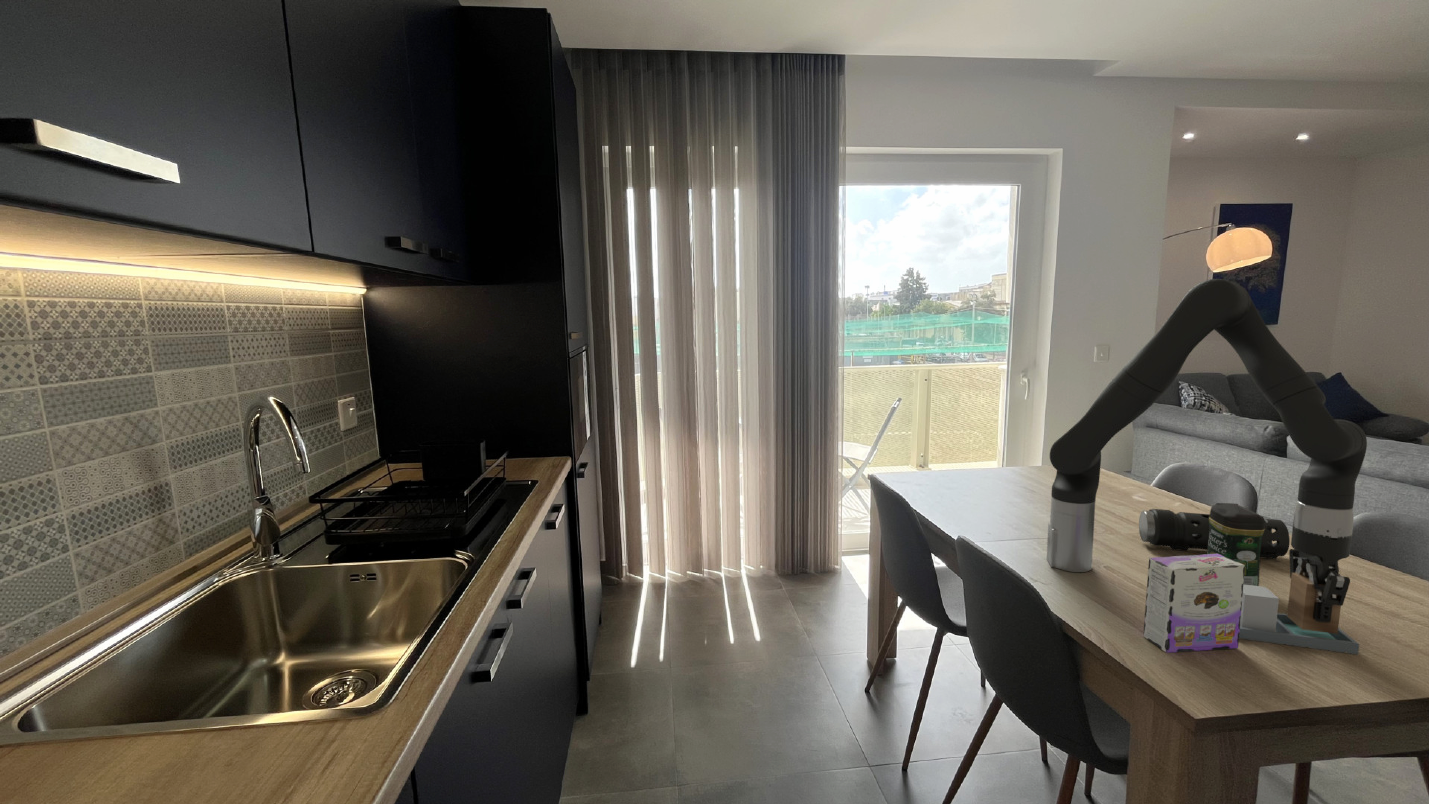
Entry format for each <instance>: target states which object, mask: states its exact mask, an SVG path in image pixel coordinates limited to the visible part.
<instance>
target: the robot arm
mask: <svg viewBox="0 0 1429 804" xmlns="http://www.w3.org/2000/svg"><path fill="white" fill-rule="evenodd" d="M1213 331H1215V332H1216V333H1217V334H1219V335H1220V336H1221V337H1222V338H1223V339H1224V340H1225V341H1227V343H1228V344H1229V345H1230V346H1231V347H1232V348H1233V349H1234V351H1235V353H1236V354H1237V356H1238V357H1239V358H1240V360H1241V362H1242V363H1243V365H1244V367H1245V369H1246V371H1247V373H1248V374H1249V376H1250V378H1251V380H1252V381H1253V383H1254V384H1255V386H1256V388H1257V389H1258V390H1259V391H1260V392H1261V394H1262V395H1263V396H1264V397H1265V398H1266V400H1267V401H1268V402H1269V404H1270V405H1271V406H1272V407H1273V408H1274V410H1276V412H1277V413H1278V414H1279V416H1280V419H1281V421H1282V423H1283V426H1284V428H1285V429H1286V431H1287V433H1288V435H1289V438H1290V439H1291V441H1292V442H1293V444H1294V445H1295V446H1296V448H1298V450H1299V451H1300V452H1301V453H1303V454H1304V455H1305V456H1307V457H1308V458H1310V463H1309V466H1308V468H1307V469H1306V470H1305V471H1304V472H1303V473H1302V474H1301V476H1300V478H1299V483H1298V493H1297V500H1296V504H1295V508H1294V512H1293V521H1292V530H1291V531H1292V533H1291V540H1290V545H1291V548H1289V549H1288V555H1289V577H1290V579H1291V575H1292V573H1297V574H1299V575H1303V574H1305V576H1306V577H1309V580H1310V583H1311V584H1312V588H1313V589H1315V602H1314V612H1313V619H1314V620H1316V621H1317V622H1325V623H1329V622H1330V621H1331V614H1332V605H1340V606H1341V607H1342V606H1343V605H1344V602H1345V599H1346V596H1347V593H1348V590H1349V587H1350V583H1351V579H1350V577H1349V576H1342V575H1341V573H1339V572H1340V567H1339V561H1340V560H1343V559H1347V558H1348V557H1350V555H1351V548H1352V547H1351V545H1352V539H1353V530H1354V529H1353V528H1354V520H1355V519H1354V502H1355V495H1356V481H1357V479H1358V476H1359V474H1360V472H1361V469H1362V465H1363V464H1364V460H1365V457H1366V454H1367V447H1368V442H1367V440H1368V439H1367V436H1366V433H1365V431H1364V429H1362V427H1360V426H1359V425H1358V424H1357V423H1355V422H1352V421H1349V420H1346V419H1334V418H1333V416H1332V415H1331V414H1330V411H1328V409H1327V407H1326V406H1325V403H1326V402H1327V398H1326V396H1325V393H1324V392H1323V390H1322V389H1321V388H1320V387H1319V386H1318V385H1317V383H1316V382H1315V381H1314V380H1313V379H1312V378H1311V376H1310V375H1309V374H1308V373H1307V372H1306V371H1305V370H1304V369H1303V367H1301V365H1300V364H1299V363H1298V362H1297V361H1296V360H1295V358H1294V357H1293V356H1292V355H1291V354H1290V353H1289V352H1288V351H1287V350H1286V349H1285V347H1284V346H1282V344H1281V343H1280V342H1279V340H1277V338H1276V337H1275V336H1274V334H1273V333H1272V332H1271V330H1270V329H1269V327H1268V326H1267V325H1266V323H1265V321H1264V319H1262V316H1261V314H1260V313H1259V311H1258V309H1257V308H1256V305H1255V304H1254V302H1253V300H1252V298H1251V295H1250V294H1249V292H1248V291H1247V289H1246V288H1245V287H1243V286H1242V285H1240V284H1239V283H1235V282H1232V281H1229V280H1227V279H1223V278H1212V279H1207V280H1204V281H1201V282H1199V283H1197V284H1196V285H1194V286H1193V287H1191V288H1190V289H1189V290H1188V291H1187V293H1186V294H1185V295H1184V296H1183V298H1182V299H1181V300H1180V302H1179V303H1178V304H1177V305H1176V307H1175V308H1174V310H1173V311H1172V312H1171V314H1170V315H1169V316H1168V318H1167V319H1166V321H1165V322H1164V323H1163V325H1162V326H1161V327H1160V329H1158V331H1157V332H1156V333H1155V334H1154V335H1153V336H1152V337H1151V338H1150V339H1149V340H1148V341H1147V342H1146V343H1145V344H1144V345H1143V346H1142V347H1141V348H1140V350H1138V352H1136V354H1135V355H1134V356H1133V357H1132V358H1131V359H1130V360H1129V361H1128V362H1127V363H1126V364H1125V365H1124V366H1123V367H1122V368H1121V370H1120V371H1119V372H1118V373H1117V374H1116V375H1115V376H1114V377H1113V379H1111V381H1110V382H1109V383H1108V385H1107V386H1106V387H1105V388H1104V389H1103V390H1102V392H1101V393H1100V394H1099V395H1098V397H1097V398H1096V400H1095V401H1094V402H1093V403H1092V405H1091V406H1090V408H1088V410H1087V411H1086V413H1085V414H1084V415H1082V417H1081V418H1080V419H1079V420H1078V421H1077V422H1076V423H1075V424H1074V425H1073V426H1072V427H1071V428H1070V429H1068V430H1067V431H1066V432H1065V433H1064V434H1063V435H1062V436H1060V437H1059V438H1058V439H1057V440H1055V441H1054V443H1053V444H1052V445H1051V447H1050V450H1049V461H1050V463H1051V465H1052V466H1053V468H1054V469H1055V470H1056V474H1055V478H1054V481H1053V483H1052V486H1051V493H1050V494H1051V497H1050V498H1051V499H1050V500H1051V501H1050V518H1049V519H1050V521H1049V522H1048V523H1047V543H1046V560H1047V562H1048V564H1049V567H1051V568H1056V569H1059V570H1062V571H1066V572H1071V573H1072V572H1074V573H1085V572H1089V571H1091V570H1092V566H1093V553H1094V552H1093V551H1094V550H1093V549H1094V536H1095V535H1094V533H1095V532H1094V530H1095V513H1096V498H1097V493H1098V492H1097V491H1098V489H1099V485H1100V475H1101V466H1102V465H1101V463H1102V450H1103V449H1104V448H1105V446H1106V445H1107V444H1108V442H1109V441H1111V440H1112V438H1114V436H1115V435H1117V434H1118V433H1119V432H1121V431H1123V429H1125V428H1126V427H1127V426H1128V425H1130V424H1131V423H1132V422H1134V421H1135V420H1136V419H1137V418H1139V417H1140V416H1141V415H1142V414H1144V412H1146V411H1147V410H1148V409H1150V407H1152V406H1153V404H1154V403H1156V402H1157V400H1159V398H1160V397H1161V396H1162V395H1163V394H1164V393H1165V392H1167V390H1168V389H1169V388H1170V387H1171V386H1172V384H1173V383H1174V381H1175V380H1176V378H1177V376H1178V375H1179V373H1180V372H1181V370H1182V367H1183V366H1184V364H1185V363H1186V361H1187V359H1188V357H1189V355H1190V354H1191V353H1192V352H1193V350H1194V349H1195V348H1196V347H1197V346H1198V345H1199V344H1200V343H1201V342H1202V341H1203V340H1204V339H1205V338H1206V337H1207V336H1208V335H1209V334H1210V333H1212V332H1213ZM1318 583H1326V584H1325V586H1323V585H1319V584H1318ZM1321 590H1324V591H1323V594H1321ZM1336 595H1337V597H1336Z"/></svg>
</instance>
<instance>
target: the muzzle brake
mask: <svg viewBox="0 0 1429 804" xmlns="http://www.w3.org/2000/svg"><path fill="white" fill-rule="evenodd" d="M1209 515H1210V513H1196V512H1195V513H1194V512H1187V511H1185V512H1184V511H1179V512H1177V513H1175V512H1174V511H1172V510H1170V509H1162V508H1161V509H1158V508H1151V509H1149V510H1142V511H1140V513H1139V518H1138V532H1139V537H1140V540H1141V541H1142V542H1145V543H1149V544H1151V545H1152V546H1157V547H1158V546H1159V547H1169V549H1170V550H1174V551H1184V552H1185V551H1186V552H1187V551H1188V550H1189V549H1193V550H1194V549H1195V550H1201V551H1202V550H1203V551H1207V550H1208V542H1209V532H1210V526H1209ZM1264 523H1265V528H1264V533H1263V536H1262V539H1261V547H1260V559H1261V558H1263V559H1264V558H1265V559H1274V560H1276V559H1278V557H1285V555H1287V553H1289V550H1290V545H1291V540H1290V532H1289V529H1288V527H1287V525H1286V524H1285V523H1284V521H1283V520H1280V519H1276V518H1275V519H1274V518H1264ZM1273 530H1275V531H1273ZM1273 542H1274V543H1273Z"/></svg>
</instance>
